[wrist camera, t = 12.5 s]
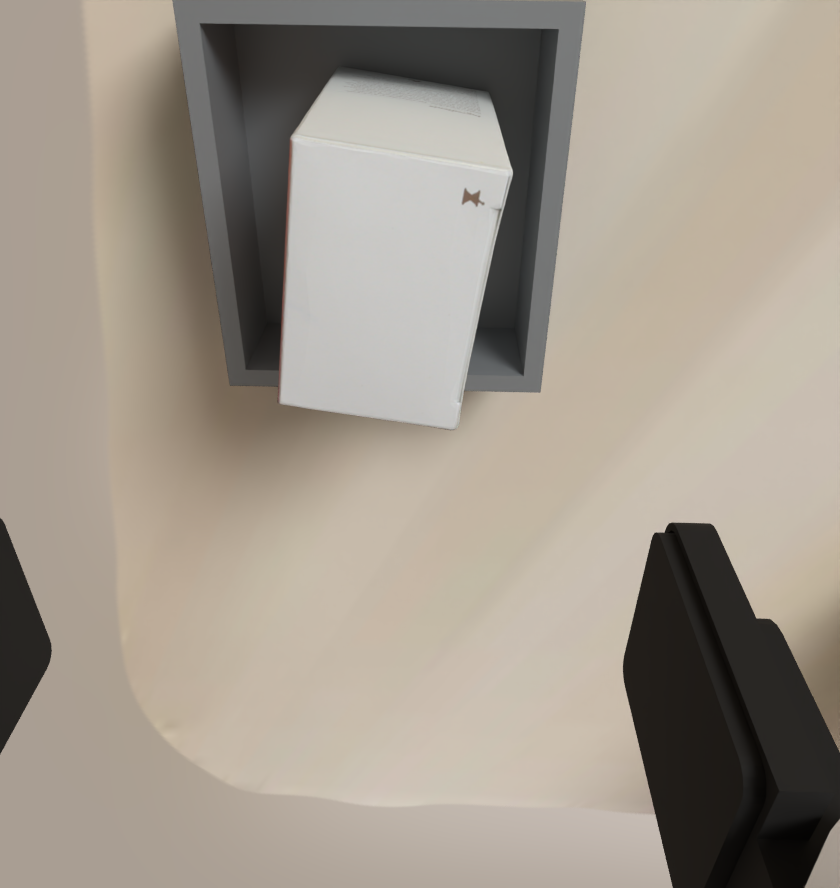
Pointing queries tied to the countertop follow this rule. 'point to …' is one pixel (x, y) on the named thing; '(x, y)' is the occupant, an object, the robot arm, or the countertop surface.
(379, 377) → the small box
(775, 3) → the countertop surface
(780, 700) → the robot arm
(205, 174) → the crate
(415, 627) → the countertop surface
